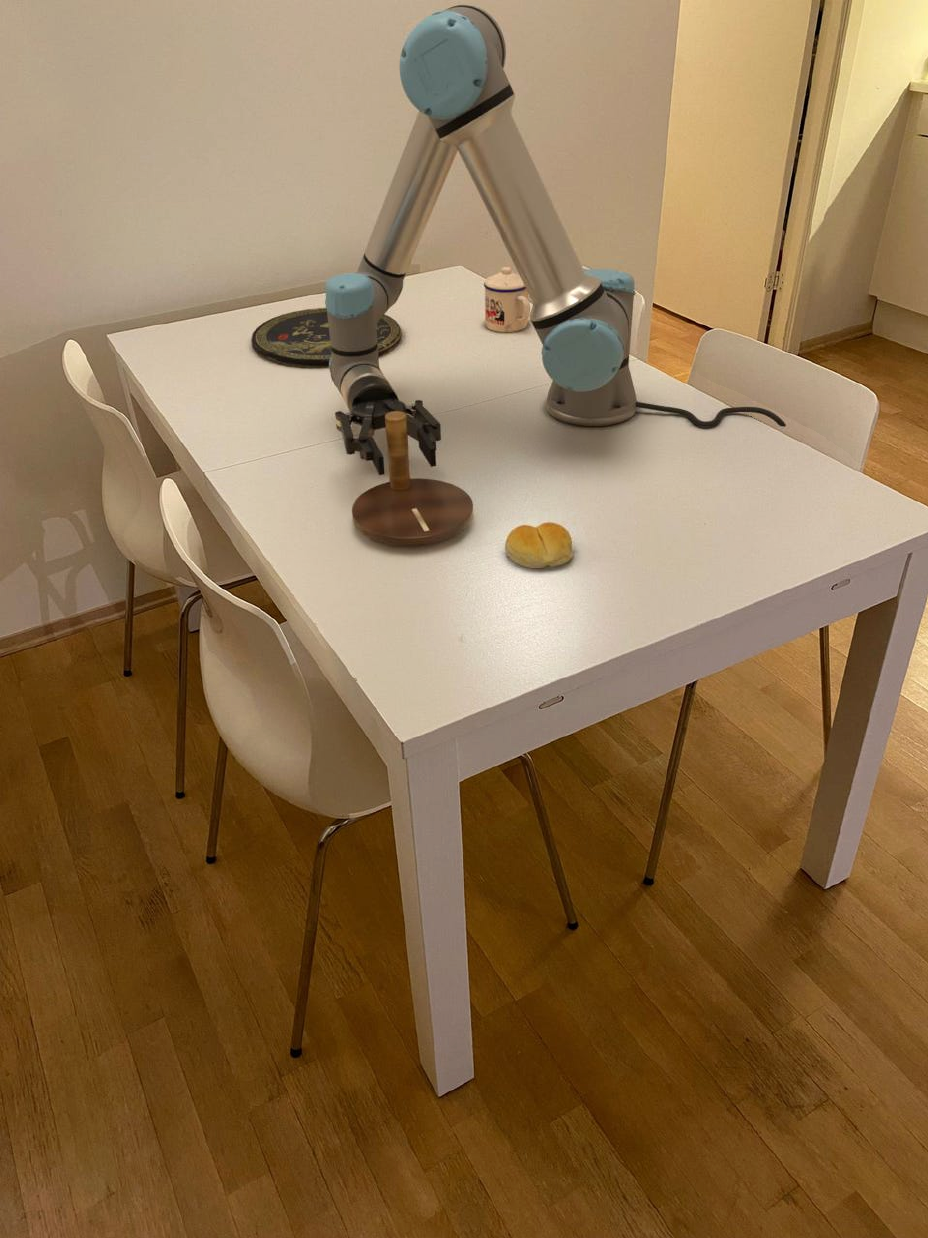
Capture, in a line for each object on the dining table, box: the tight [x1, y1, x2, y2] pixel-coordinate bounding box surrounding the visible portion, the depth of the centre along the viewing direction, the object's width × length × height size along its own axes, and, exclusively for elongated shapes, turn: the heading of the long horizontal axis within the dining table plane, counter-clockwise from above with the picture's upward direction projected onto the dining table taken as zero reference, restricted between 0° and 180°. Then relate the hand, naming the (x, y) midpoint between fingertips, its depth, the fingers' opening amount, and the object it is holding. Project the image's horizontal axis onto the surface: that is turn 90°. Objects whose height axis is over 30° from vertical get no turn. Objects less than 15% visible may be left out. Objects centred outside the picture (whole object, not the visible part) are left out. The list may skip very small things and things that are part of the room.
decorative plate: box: [251, 307, 403, 368], centre depth 202 cm, size 30×2×30 cm
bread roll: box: [504, 521, 575, 569], centre depth 134 cm, size 8×9×4 cm
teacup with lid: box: [483, 266, 531, 333], centre depth 202 cm, size 12×9×12 cm
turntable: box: [351, 411, 474, 546], centre depth 138 cm, size 17×17×12 cm
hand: (407, 461), depth 139 cm, fingers open, 7 cm apart
